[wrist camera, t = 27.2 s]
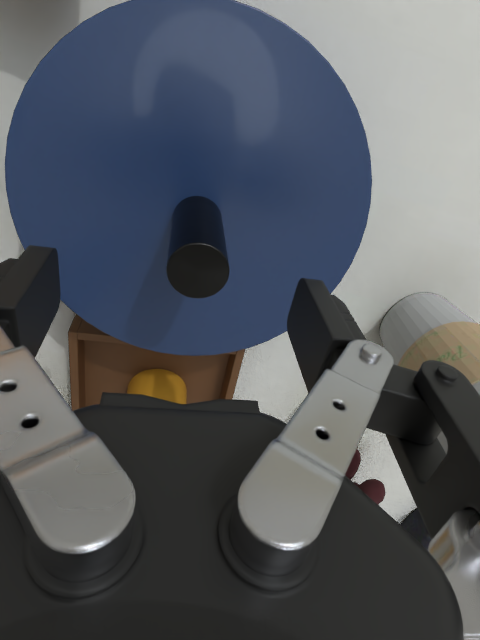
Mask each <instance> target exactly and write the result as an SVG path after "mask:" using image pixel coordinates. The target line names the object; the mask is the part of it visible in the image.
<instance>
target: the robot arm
mask: <svg viewBox="0 0 480 640" xmlns="http://www.w3.org/2000/svg"><path fill="white" fill-rule="evenodd" d="M60 294H61V292H60V277H59V262H58V253H57V250H56V248H51V247H42V246H34V245H29V246H28V247H27V248H26V250H25V251H24V252H23V254H22V255H21V256H20V257H19V259H11V258H10V259H7V260H5V261H3V262H1V263H0V640H480V395H479V393H478V392H477V391H476V389H475V388H474V387H473V385H472V384H471V383H470V381H469V380H468V379H467V378H466V376H465V375H464V374H463V373H461V372H460V371H459V370H457V369H456V368H454V367H452V366H451V365H448V364H446V363H443V362H440V361H435V360H428V361H425V362H423V363H422V365H421V367H420V368H419V370H418V371H414V370H411V369H408V368H404V367H401V366H398V365H395V364H394V360H393V357H392V355H391V354H390V353H389V352H388V351H387V350H386V349H385V348H383V347H382V346H380V345H378V344H376V343H374V342H371V341H368V340H366V339H365V337H364V335H363V334H362V332H361V330H360V328H359V327H358V325H357V323H356V322H355V321H354V318H353V317H352V315H351V314H350V312H349V310H348V308H347V307H346V305H345V304H344V303H343V302H342V301H341V300H340V299H338V298H337V297H336V296H335V295H331V294H330V293H329V291H328V289H327V287H326V286H325V284H324V282H323V281H322V280H315V279H307V278H301V279H300V280H299V282H298V284H297V287H296V291H295V294H294V297H293V301H292V304H291V307H290V311H289V314H288V318H287V332H288V335H289V338H290V341H291V344H292V346H293V349H294V352H295V355H296V358H297V361H298V364H299V367H300V370H301V373H302V376H303V379H304V381H305V384H306V387H307V390H308V393H309V394H308V395H307V397H306V398H305V399H304V401H303V402H302V404H301V405H300V407H299V408H298V409H297V411H296V412H295V414H294V415H293V416H292V418H291V419H290V421H289V422H288V424H286V423H284V422H282V421H281V420H279V419H276V418H274V417H272V416H270V415H267V414H264V413H260V412H259V407H258V401H250V400H232V399H217V400H210V401H203V402H196V403H189V404H179V403H175V402H171V401H167V400H163V399H159V398H155V397H151V396H147V395H143V394H125V393H108V392H102V396H101V400H100V404H96V405H91V406H87V407H83V408H80V409H77V410H74V411H72V409H71V408H70V407H69V405H68V404H67V402H66V401H65V400H64V398H63V397H62V395H61V394H60V393H59V391H58V390H57V388H56V387H55V386H54V384H53V383H52V382H51V380H50V379H49V377H48V376H47V375H46V373H45V372H44V370H43V369H42V368H41V366H40V365H39V364H38V362H37V361H36V359H35V356H36V354H37V352H38V350H39V348H40V346H41V344H42V342H43V340H44V338H45V336H46V334H47V332H48V330H49V328H50V325H51V323H52V321H53V319H54V317H55V315H56V313H57V311H58V308H59V304H60ZM366 428H369V429H372V430H375V431H378V432H382V433H385V434H386V437H387V439H388V441H389V444H390V446H391V448H392V451H393V453H394V455H395V458H396V460H397V462H398V464H399V467H400V469H401V471H402V474H403V476H404V478H405V481H406V483H407V485H408V487H409V490H410V492H411V494H412V497H413V499H414V501H415V504H416V506H417V508H418V511H419V513H420V515H421V517H422V520H423V522H424V524H425V527H426V529H427V531H428V534H429V536H430V538H431V541H430V543H429V546H428V550H427V549H426V548H425V547H424V546H423V545H422V544H421V543H420V542H418V541H417V540H416V539H415V538H414V537H413V536H412V535H411V534H410V533H409V532H407V531H406V530H405V529H404V528H403V527H402V526H401V525H400V524H399V523H397V522H396V521H395V520H394V519H393V518H392V517H391V516H390V515H389V514H387V513H386V512H385V511H384V510H383V509H382V508H381V507H380V506H379V505H377V504H376V503H375V502H374V501H373V500H372V499H371V498H370V497H369V496H367V495H366V494H365V493H364V492H363V491H362V490H361V489H360V488H359V487H358V486H356V485H355V484H354V483H353V482H352V481H351V480H350V479H349V478H348V477H346V476H345V474H346V471H347V469H348V467H349V465H350V462H351V460H352V458H353V456H354V453H355V451H356V449H357V447H358V445H359V442H360V440H361V438H362V436H363V433H364V431H365V429H366ZM441 431H442V432H443V434H444V435H445V437H446V440H447V444H448V450H447V454H446V453H445V451H444V449H443V447H442V445H441V444H440V442H439V440H438V438H437V437H438V435H439V434H440V432H441Z"/></svg>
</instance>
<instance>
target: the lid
mask: <svg viewBox="0 0 480 640" xmlns="http://www.w3.org/2000/svg"><path fill="white" fill-rule="evenodd" d="M5 178H6V191H7V197H8V202H9V207H10V213H11V216H12V219H13V222H14V225H15V228H16V231H17V234H18V237H19V239H20V241H21V243H22V245H23V247H24V249H25V250H26V248H27V247H28V246H29V245H34V246H42V247H51V248H56V250H57V253H58V262H59V277H60V292H61V294H60V300H61V301H63V302H64V303H65V304H66V305H67V306H68V307H69V308H70V309H71V310H72V311H74V312H75V313H76V314H77V315H79V316H80V317H81V318H82V319H84V320H85V321H86V322H88V323H90V324H91V325H93V326H94V327H96V328H98V329H99V330H101V331H102V332H104V333H106V334H108V335H110V336H112V337H114V338H117V339H119V340H121V341H123V342H126V343H129V344H131V345H134V346H137V347H140V348H143V349H147V350H151V351H155V352H160V353H167V354H173V355H187V356H203V355H217V354H223V353H230V352H235V351H238V350H242V349H246V348H250V347H253V346H255V345H258V344H261V343H263V342H266V341H268V340H270V339H272V338H274V337H276V336H278V335H280V334H282V333H284V332H286V331H287V318H288V314H289V311H290V307H291V304H292V301H293V297H294V294H295V291H296V287H297V284H298V282H299V280H300V279H301V278H307V279H315V280H322V281H323V282H324V284H325V286H326V287H327V289H328V291H329V293H330V294H331V293H332V291H333V290H334V289H335V288H336V286H337V285H338V284H339V283H340V281H341V280H342V278H343V276H344V275H345V273H346V272H347V270H348V268H349V267H350V265H351V263H352V261H353V259H354V257H355V255H356V252H357V250H358V248H359V246H360V243H361V240H362V237H363V234H364V231H365V228H366V224H367V219H368V214H369V208H370V202H371V187H372V175H371V160H370V153H369V148H368V143H367V138H366V133H365V130H364V127H363V124H362V122H361V119H360V116H359V113H358V110H357V108H356V106H355V104H354V102H353V100H352V98H351V96H350V94H349V92H348V90H347V88H346V86H345V84H344V83H343V82H342V80H341V79H340V77H339V76H338V75H337V73H336V72H335V70H334V69H333V68H332V66H331V65H330V63H329V62H328V61H327V60H326V59H325V58H324V57H323V56H322V55H321V54H320V53H319V52H318V51H317V50H316V49H315V47H314V46H313V45H312V44H311V43H310V42H309V41H307V40H306V39H305V38H303V37H302V36H301V35H300V34H298V33H297V32H296V31H294V30H293V29H292V28H290V27H289V26H288V25H287V24H285V23H283V22H281V21H280V20H278V19H276V18H274V17H272V16H271V15H269V14H267V13H265V12H263V11H261V10H260V9H257V8H254V7H251V6H249V5H246V4H243V3H240V2H237V1H235V0H130V1H127V2H124V3H121V4H118V5H115V6H112V7H109V8H107V9H106V10H104V11H102V12H100V13H98V14H96V15H94V16H93V17H91V18H89V19H87V20H85V21H83V22H82V23H81V24H79V25H78V26H77V27H76V28H74V29H73V30H72V31H70V32H69V33H68V34H67V35H65V36H64V37H63V38H62V39H60V40H59V41H58V42H57V44H56V45H55V46H54V47H53V48H52V49H51V50H50V51H49V52H48V53H47V55H46V56H45V57H44V58H43V59H42V60H41V61H40V63H39V64H38V66H37V67H36V69H35V70H34V72H33V74H32V75H31V77H30V78H29V80H28V81H27V83H26V85H25V87H24V89H23V91H22V93H21V96H20V98H19V100H18V103H17V105H16V107H15V110H14V113H13V117H12V121H11V125H10V129H9V132H8V136H7V146H6V156H5Z"/></svg>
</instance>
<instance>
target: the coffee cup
mask: <svg viewBox="0 0 480 640" xmlns="http://www.w3.org/2000/svg"><path fill="white" fill-rule="evenodd" d="M380 338H381V341H382V343H383V345H384V348H385V349H386V350H387V351H388V352H389V353H390V354H391V355H392V357H393V360H394V364H395V365H398V366H401V367H404V368H408V369H411V370H414V371H418V370H419V368H420V367H421V365H422V363H423V362H425V361H428V360H435V361H440V362H443V363H446V364H448V365H451V366H452V367H454V368H456V369H457V370H459V371H460V372H461V373H463V374H464V375H465V376H466V378H467V379H468V380H469V381H470V383H471V384H472V385H473V387H474V388H475V389H476V391H477V392H478V393H479V395H480V324H478V323H476V322H475V321H474V320H472V319H471V318H470V317H469V316H467V315H466V314H465V313H463V312H462V311H461V310H459V309H458V308H457V307H456V306H454V305H453V304H452V303H450V302H449V301H448V300H446V299H445V298H443V297H441V296H440V295H437V294H433V293H417V294H412V295H410V296H408V297H405V298H404V299H402V300H401V301H399V302H398V303H397V304H395V305H394V306H393V307H392V308H391V309H390V310H389V311H388V313H387V314H386V316H385V317H384V319H383V321H382V323H381V326H380ZM437 438H438V440H439V442H440V444H441V445H442V447H443V449H444V451H445V453H446V454H447V450H448V444H447V440H446V437H445V435H444V434H443V432H442V431H441V432H440V434H439V435H438V437H437Z"/></svg>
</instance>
